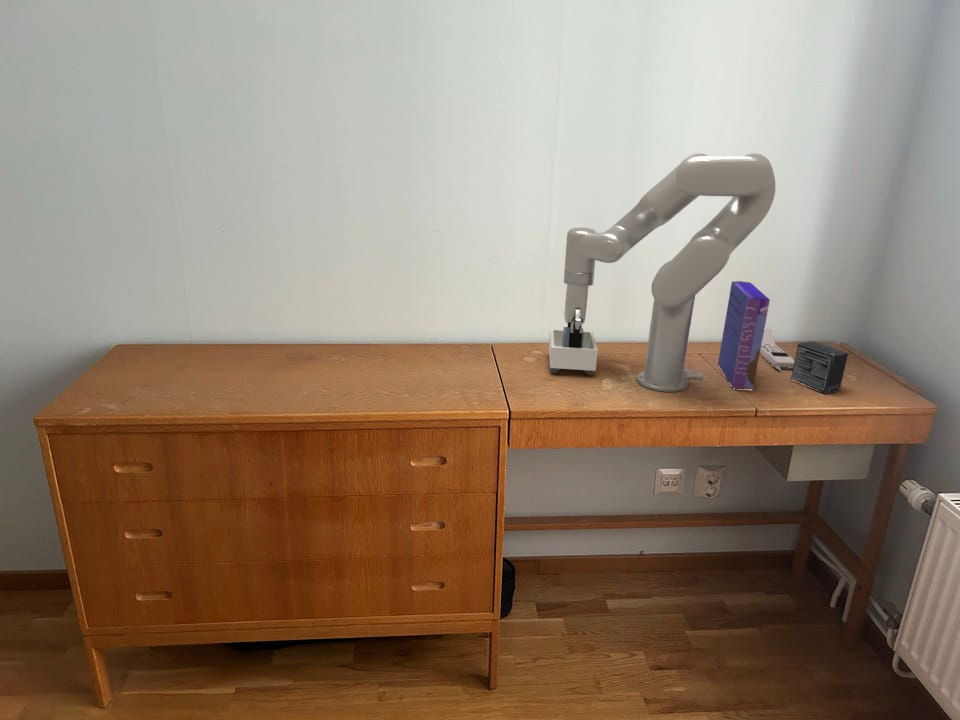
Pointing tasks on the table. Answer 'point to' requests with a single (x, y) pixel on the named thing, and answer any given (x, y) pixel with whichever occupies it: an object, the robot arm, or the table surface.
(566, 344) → the block
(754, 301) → the cereal box
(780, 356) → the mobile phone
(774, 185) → the robot arm
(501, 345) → the table surface
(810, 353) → the small box
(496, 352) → the table surface
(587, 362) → the white storage bin
